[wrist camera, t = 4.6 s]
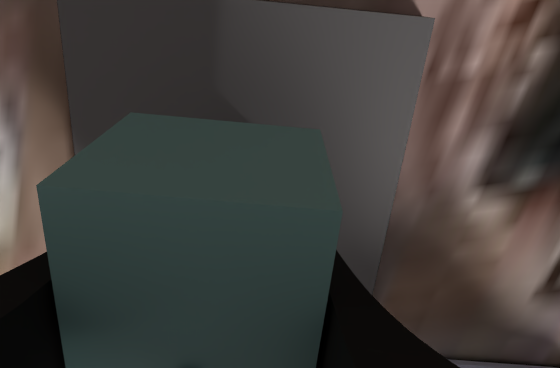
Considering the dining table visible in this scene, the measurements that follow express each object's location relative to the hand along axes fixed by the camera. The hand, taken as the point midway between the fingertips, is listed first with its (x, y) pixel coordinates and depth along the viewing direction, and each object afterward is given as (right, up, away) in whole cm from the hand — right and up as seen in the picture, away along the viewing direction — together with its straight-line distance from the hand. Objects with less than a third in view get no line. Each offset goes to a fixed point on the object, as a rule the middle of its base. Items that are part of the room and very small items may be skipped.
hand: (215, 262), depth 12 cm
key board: (0, +3, +7) cm, 8 cm away
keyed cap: (0, +1, +1) cm, 1 cm away
